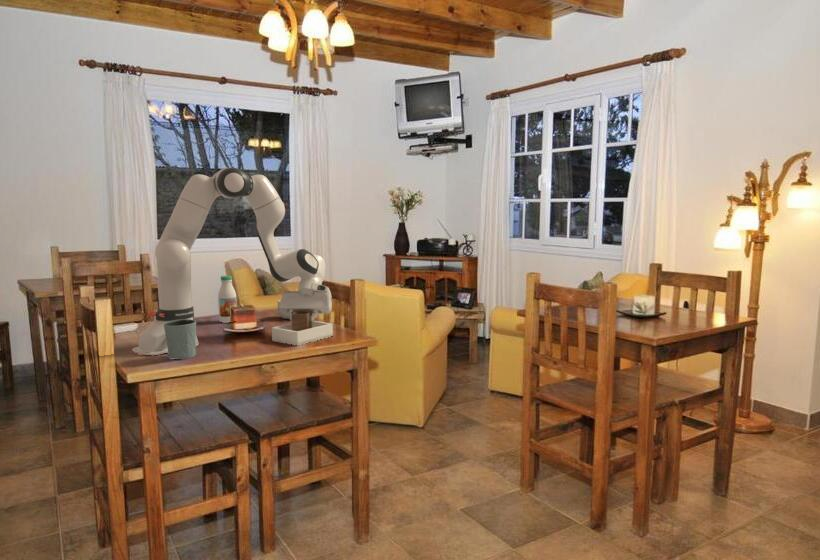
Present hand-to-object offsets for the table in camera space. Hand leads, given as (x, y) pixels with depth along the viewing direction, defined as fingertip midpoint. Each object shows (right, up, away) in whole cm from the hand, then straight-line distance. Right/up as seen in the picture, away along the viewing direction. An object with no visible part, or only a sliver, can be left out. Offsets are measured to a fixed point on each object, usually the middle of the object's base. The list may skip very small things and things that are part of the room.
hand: (301, 321), depth 225 cm
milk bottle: (-38, -3, +35) cm, 52 cm away
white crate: (0, -7, +2) cm, 7 cm away
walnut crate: (0, -4, +1) cm, 4 cm away
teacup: (-12, -2, +40) cm, 42 cm away
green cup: (-36, -11, -23) cm, 44 cm away
